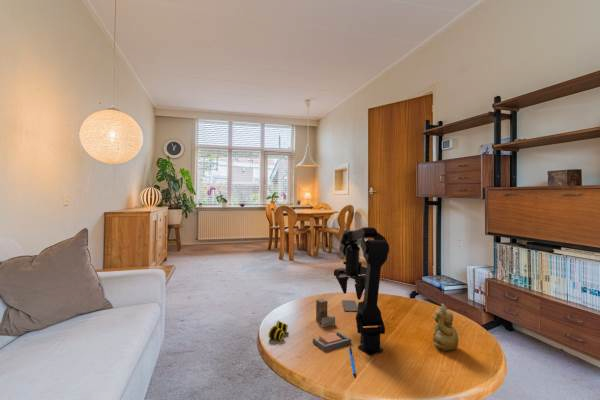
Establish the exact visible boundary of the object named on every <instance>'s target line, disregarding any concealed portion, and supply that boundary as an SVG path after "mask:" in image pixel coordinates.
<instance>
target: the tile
mask: <svg viewBox="0 0 600 400" xmlns="http://www.w3.org/2000/svg"><path fill="white" fill-rule="evenodd" d="M318 340H319V341H320V342H322V343H323V344H325V345H326V344H330V343H334V342H337V341H341V340H342V339H341V338H340V337H338V336H337V334H335V333H334V332H328V333H324V334H322V335H321V334H320V335H319V336H318Z"/></svg>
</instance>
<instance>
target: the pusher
mask: <svg viewBox="0 0 600 400" xmlns="http://www.w3.org/2000/svg"><path fill="white" fill-rule="evenodd" d="M315 303H316V304H315V321H316V322H318V323H319V324H321V327H322V328H326V327H327V328H328V327H331V326H335V325H336V316H335V315H329V316H328V300H327V299H324V298H320V299H316V301H315Z"/></svg>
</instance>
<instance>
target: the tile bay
mask: <svg viewBox="0 0 600 400" xmlns="http://www.w3.org/2000/svg"><path fill="white" fill-rule="evenodd" d="M336 335H337V336H338V337H340V338H341V339H342V340H341V341H337V342H334V343H330V344H326V345H325V344H324V343H323V342H321V341H320V340H319V338H318V339H317V338H316V337H313V338H312V343H313V344H314V345H316V346H317V347H318V348H320V349H321V350H322V351H324V352H325V351H330V350H332V349H335V348H339V347H343V346H347V345H350V344H352V339H351V338H350V337H348V336H347V335H345V334H344V333H342V332H341V331H336Z"/></svg>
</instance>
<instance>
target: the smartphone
mask: <svg viewBox="0 0 600 400" xmlns="http://www.w3.org/2000/svg"><path fill="white" fill-rule="evenodd" d="M341 303H342V306H343V307H342V308H343V311H344V312H348V313H352V312H353V313H357V310H358V304H357V303H356V300H348V299H342V300H341Z"/></svg>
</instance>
